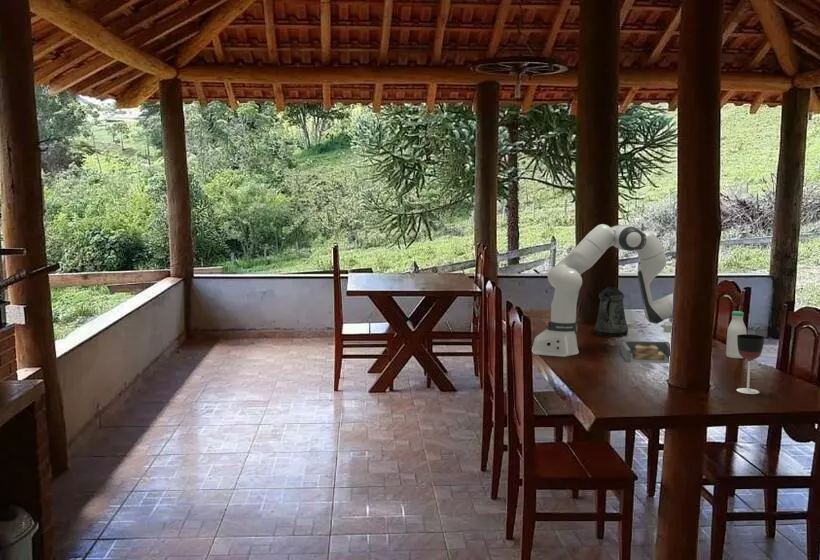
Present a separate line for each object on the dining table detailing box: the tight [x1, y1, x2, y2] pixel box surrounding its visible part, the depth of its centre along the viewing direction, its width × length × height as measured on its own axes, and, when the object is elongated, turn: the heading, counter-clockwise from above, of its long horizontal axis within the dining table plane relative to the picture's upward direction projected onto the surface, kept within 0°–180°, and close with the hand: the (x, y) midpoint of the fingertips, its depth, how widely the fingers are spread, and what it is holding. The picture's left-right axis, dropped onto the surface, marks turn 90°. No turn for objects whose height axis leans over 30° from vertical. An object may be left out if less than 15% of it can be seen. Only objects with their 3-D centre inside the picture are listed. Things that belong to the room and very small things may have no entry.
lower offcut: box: [633, 351, 665, 360], centre depth 295 cm, size 12×6×2 cm, turn 80°
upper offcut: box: [634, 346, 658, 354], centre depth 295 cm, size 9×5×2 cm, turn 80°
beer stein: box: [594, 285, 629, 338], centre depth 351 cm, size 16×19×25 cm
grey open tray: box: [620, 340, 671, 364], centre depth 296 cm, size 20×20×6 cm
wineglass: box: [736, 334, 765, 395], centre depth 249 cm, size 8×9×20 cm
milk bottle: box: [725, 310, 748, 359], centre depth 302 cm, size 8×8×20 cm
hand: (691, 331), depth 296 cm, fingers closed on birch strip, 3 cm apart
